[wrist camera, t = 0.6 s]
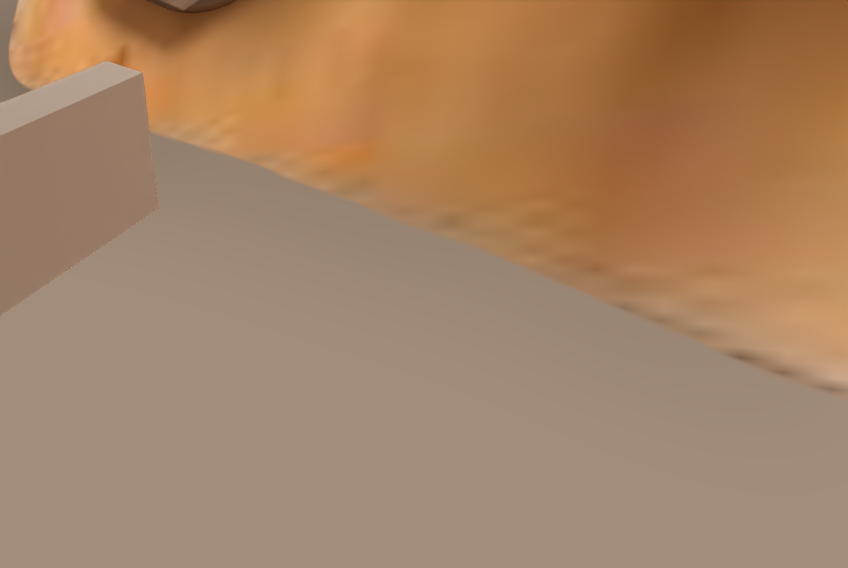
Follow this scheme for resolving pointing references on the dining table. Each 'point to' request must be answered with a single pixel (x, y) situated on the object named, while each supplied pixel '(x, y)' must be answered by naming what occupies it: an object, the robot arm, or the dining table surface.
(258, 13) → the dining table surface
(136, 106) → the robot arm
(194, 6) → the plate
